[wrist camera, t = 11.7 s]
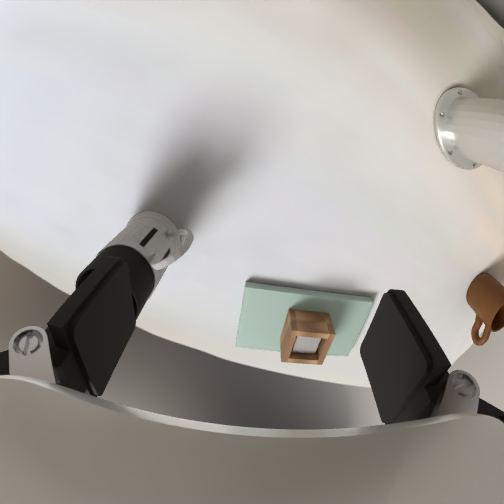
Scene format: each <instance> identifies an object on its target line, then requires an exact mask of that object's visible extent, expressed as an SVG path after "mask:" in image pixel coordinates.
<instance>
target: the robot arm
mask: <svg viewBox="0 0 504 504" xmlns="http://www.w3.org/2000/svg"><path fill="white" fill-rule="evenodd" d="M434 126H435V133H436V138H437V141H438V144H439V147H440V148H441V150H442V152H443V154H444V155H445V157H446V158H447V159H448V160H449V161H450V162H451V163H452V164H454V165H455V166H457V167H460V168H462V169H467V170H470V169H475V168H478V167H479V166H481V165H485V166H488V167H491V168H494V169H497V170H499V171H502V172H504V99H497V98H480V97H479V96H478V95H477V94H476V93H474V92H473V91H471V90H469V89H467V88H463V87H455V88H451V89H449V90H447V91H446V92H445V93H443V94H442V96H441V97H440V99H439V100H438V103H437V106H436V109H435V114H434ZM47 325H48V328H47V329H46V330H45V331H44V330H43V329H42V328H40V327H36V326H30V327H26V328H22V329H20V330H19V331H18V332H16V333H15V334H14V335H13V336H12V338H11V340H10V343H9V350H7V351H4V352H0V504H504V412H503V411H501V410H500V409H498V408H496V407H494V406H493V405H491V404H489V403H487V402H486V401H484V400H482V399H480V398H479V395H480V389H479V386H478V383H477V381H476V380H475V378H474V377H472V376H471V375H470V374H469V373H467V372H465V371H462V370H455V371H453V372H451V373H450V374H449V373H448V371H447V370H448V369H449V368H450V366H451V364H450V362H449V360H448V358H447V357H446V355H445V353H444V352H443V350H442V348H441V346H440V345H439V343H438V341H437V340H436V338H435V337H434V335H433V333H432V332H431V330H430V329H429V327H428V325H427V324H426V322H425V321H424V319H423V318H422V316H421V315H420V313H419V312H418V310H417V309H416V307H415V306H414V304H413V303H412V301H411V300H410V298H409V297H408V295H407V294H406V292H405V291H403V290H393V289H390V290H389V291H388V292H387V293H384V294H383V296H382V299H381V301H380V304H379V306H378V309H377V311H376V313H375V316H374V318H373V320H372V323H371V325H370V327H369V329H368V331H367V334H366V336H365V338H364V340H363V342H362V344H361V348H360V354H361V357H362V360H363V363H364V366H365V369H366V372H367V375H368V378H369V381H370V385H371V388H372V391H373V394H374V397H375V401H376V404H377V407H378V411H379V414H380V418H381V421H382V422H383V423H385V425H378V426H370V427H358V428H344V429H323V430H322V429H320V430H285V429H262V428H249V427H237V426H228V425H220V424H212V423H205V422H198V421H192V420H186V419H181V418H176V417H170V416H165V415H161V414H156V413H152V412H147V411H143V410H139V409H136V408H132V407H128V406H124V405H121V404H117V403H114V402H110V401H107V400H103V399H100V398H97V396H101V395H102V394H103V392H104V390H105V388H106V386H107V383H108V381H109V379H110V377H111V375H112V373H113V371H114V369H115V367H116V365H117V363H118V361H119V358H120V357H121V355H122V352H123V351H124V349H125V347H126V345H127V342H128V341H129V339H130V337H131V335H132V333H133V331H134V329H135V325H136V319H135V313H134V306H133V300H132V292H131V284H130V276H129V267H128V263H127V262H124V259H123V258H121V257H114V256H107V257H106V258H105V259H104V260H103V261H102V262H101V263H100V264H99V265H98V266H97V267H96V268H95V269H94V270H93V271H92V273H91V274H90V275H89V276H88V277H87V278H86V279H85V280H84V281H83V282H82V283H81V284H80V286H79V287H78V288H77V289H76V290H75V291H74V292H73V293H72V295H71V296H70V297H69V298H68V299H67V300H66V302H65V303H64V304H63V305H62V306H61V307H60V308H59V310H58V311H57V312H56V313H55V315H54V316H53V317H52V318H51V319H50V321H49V322H48V323H47Z"/></svg>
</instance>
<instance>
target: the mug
mask: <svg viewBox="0 0 504 504" xmlns="http://www.w3.org/2000/svg"><path fill="white" fill-rule="evenodd" d="M467 302H468V304H469V305H470V307H471V308H472V309H473V310H474V311H475V313H476V319H475V323H474V325H473V327H472V332H471V335H472V340H473V342H474V343H475V344H476V345H478V346H479V345H483V344H484V343H485V342H486V341H487V340H488V338H489V335H490V332H491V331H493V332H496V331H498V330H500V329H502V328H503V327H504V286H502V285H501V284H500V283H499V282H498V281H497V280H496V279H495V278H494V277H493V276H492V275H490V274H488V273H483V274H480V275H479V276H477V277H476V278H475V279H474V280H473V282H472V283H471V285H470V286H469V288H468V291H467ZM483 322H484V324H485V329H484V332H483V335H482V337H481V338H480V337H479V329H480V327H481V325H482V323H483Z"/></svg>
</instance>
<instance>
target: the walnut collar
mask: <svg viewBox="0 0 504 504" xmlns="http://www.w3.org/2000/svg"><path fill="white" fill-rule="evenodd" d="M335 335H336V334H335V331H334V327H333V324H332V321H331V318H330V315H329V313H324V312H315V311H306V310H297V309H288V313H287V316H286V320H285V323H284V327H283V330H282V333H281V337H280V351H281V362H289V363H302V364H318V365H322V363H323V361H324V359H325V357H326V355H327V353H328V351H329V348H330V346H331V344H332V342H333V340H334V337H335ZM296 336H301V337H312V338H321V340H320V342H319V345H318V347H317V350H316V352H315V354H313V353H300V352H292V348H293V345H294V342H295V339H296Z"/></svg>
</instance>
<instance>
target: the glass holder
mask: <svg viewBox="0 0 504 504" xmlns="http://www.w3.org/2000/svg"><path fill="white" fill-rule="evenodd" d="M180 235H188V236H187V238H186V240H185V242H184V243H183V244H182V245H181V238H180ZM192 241H193V234H192V232H191V231H190V230H189V229H187V228H185V229H180V230H178V229H177V228H176V226H175V225H174V223H173V222H172V221H171V220H170V219H169V218H168V217H166V216H165V215H163V214H161V213H158V212H154V211H144V212H140V213H138V214H136V215H135V216H133V217H132V218H131V220H130V221H129V222H128V224H127V226H126V228H125V229H124V230H122V231H121V232H120V233H119V234H118V235H117V236H116V237H115V238H114V239H113V240H112V241H110V242H109V243H108V244H107V245H106V246H105V247H104V248H103V249H102V250H101V251H100V252H99V253H98V254H97V256H96V258H95V259H94V260H93V261H92V262H91V263H90V264H89V265H88V266H87V267H86V268H85V269H84V270H83V271H82V272H81V273H80V274H79V276H78V278H77V281H76V289H77V288H78V287H79V286H80V284H81V283H82V282H83V281H84V280H85V279H86V278H87V277H88V276H89V275H90V274H91V273H92V271H93V270H94V269H95V268H96V267H97V266H98V265H99V264H100V263H101V262H102V261H103V260H104V259H105V258H106V257H107V256H114V257H121V258H123V259H124V262H127V263H128V267H129V276H130V284H131V292H132V300H133V306H134V313H135V319H137V318H138V316H139V314H140V312H141V310H142V308H143V307H144V305H145V303H146V301H147V300H148V299H149V298H150V297H151V295H152V293H153V292H154V290H155V288H156V286H157V285H158V283H159V281H160V279H161V277H162V276H163V274H164V272H165V270H166V269H167V267H168V266H169V265H170V264H172V263H173V262H175V261H176V260H177V259H179V258H180V257H181V256H182V255H183V254H184V253H185V252H186V251H187V250H188V249H189V247H190V246H191V244H192Z"/></svg>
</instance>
